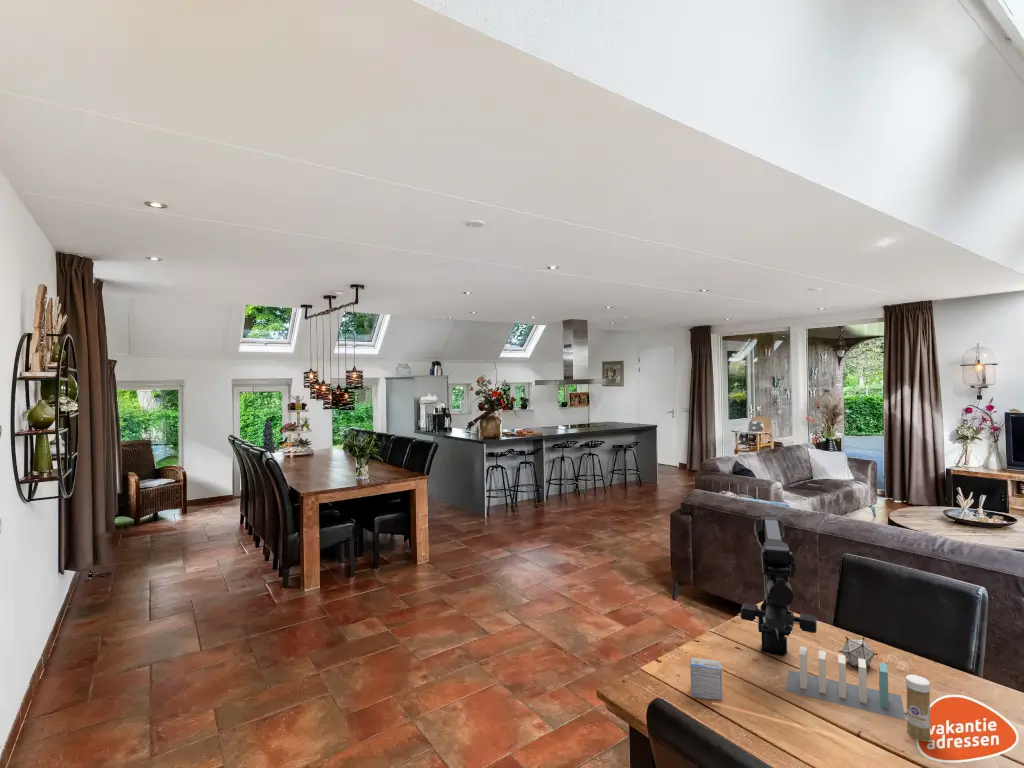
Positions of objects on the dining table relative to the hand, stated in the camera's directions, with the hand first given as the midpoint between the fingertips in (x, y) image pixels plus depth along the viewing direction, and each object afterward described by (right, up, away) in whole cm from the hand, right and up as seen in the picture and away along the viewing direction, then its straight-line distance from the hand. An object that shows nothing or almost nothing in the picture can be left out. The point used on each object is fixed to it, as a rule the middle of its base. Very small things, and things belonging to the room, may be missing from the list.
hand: (778, 648), depth 150 cm
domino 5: (+21, -8, -13) cm, 25 cm away
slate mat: (+13, -9, -8) cm, 17 cm away
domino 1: (+5, -8, -3) cm, 10 cm away
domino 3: (+13, -8, -8) cm, 17 cm away
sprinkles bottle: (+20, -9, -25) cm, 33 cm away
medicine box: (-22, -10, -7) cm, 25 cm away
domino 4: (+17, -8, -10) cm, 21 cm away
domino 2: (+9, -8, -6) cm, 13 cm away
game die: (+26, -9, +6) cm, 28 cm away
